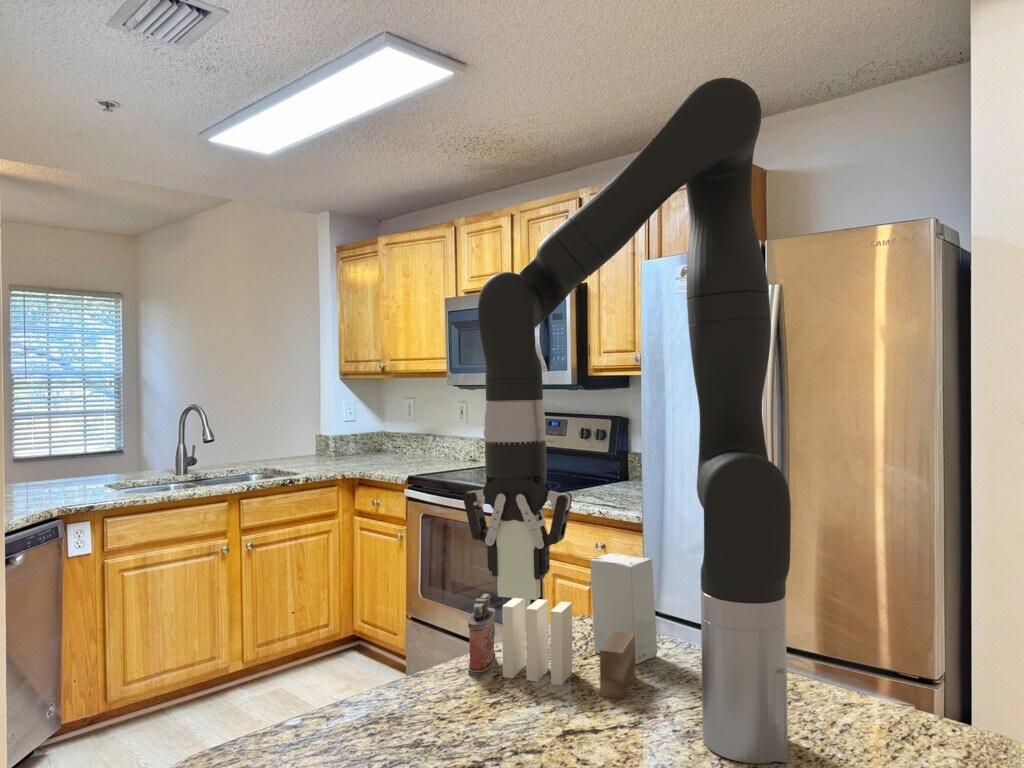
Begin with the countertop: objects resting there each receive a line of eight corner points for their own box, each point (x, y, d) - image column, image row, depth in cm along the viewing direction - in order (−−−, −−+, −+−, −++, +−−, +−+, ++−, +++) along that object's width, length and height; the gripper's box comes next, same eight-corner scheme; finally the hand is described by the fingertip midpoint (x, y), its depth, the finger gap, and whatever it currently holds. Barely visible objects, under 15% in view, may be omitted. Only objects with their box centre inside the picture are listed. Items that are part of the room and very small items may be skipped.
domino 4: (572, 672, 102) (571, 602, 102) (562, 685, 97) (561, 612, 98) (561, 670, 103) (561, 601, 103) (550, 683, 98) (550, 611, 98)
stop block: (635, 676, 100) (634, 634, 100) (622, 699, 93) (622, 653, 93) (614, 673, 101) (613, 631, 101) (600, 695, 94) (599, 650, 94)
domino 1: (502, 593, 88) (500, 512, 89) (540, 596, 87) (538, 514, 87) (497, 596, 87) (495, 514, 87) (536, 599, 85) (534, 516, 85)
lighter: (487, 677, 100) (486, 606, 100) (463, 676, 101) (463, 605, 101) (499, 657, 108) (499, 591, 108) (477, 655, 109) (477, 590, 109)
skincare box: (658, 656, 108) (657, 558, 108) (634, 667, 104) (633, 565, 104) (614, 643, 114) (613, 550, 114) (590, 652, 110) (589, 556, 110)
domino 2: (525, 665, 105) (525, 597, 105) (513, 678, 100) (512, 607, 100) (515, 664, 105) (515, 596, 106) (502, 676, 101) (502, 606, 101)
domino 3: (548, 668, 103) (548, 600, 104) (537, 681, 99) (536, 609, 99) (538, 667, 104) (537, 599, 104) (526, 680, 99) (526, 608, 100)
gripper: (580, 435, 88) (583, 573, 88) (474, 436, 93) (477, 565, 93) (561, 439, 81) (565, 589, 81) (449, 439, 86) (452, 580, 86)
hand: (518, 575), depth 87 cm, fingers closed on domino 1, 5 cm apart
